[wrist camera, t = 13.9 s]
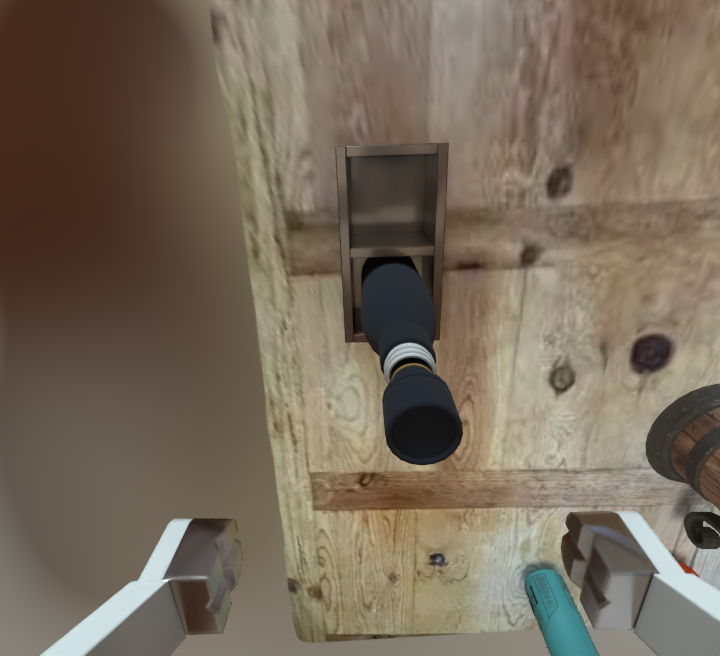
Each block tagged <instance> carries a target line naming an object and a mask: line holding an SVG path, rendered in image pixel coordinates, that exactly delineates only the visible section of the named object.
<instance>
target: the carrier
mask: <svg viewBox="0 0 720 656" xmlns="http://www.w3.org/2000/svg"><path fill="white" fill-rule="evenodd" d="M448 148H449V143H428V144H400V145H371V146H347V147H345V146H343V147H336V168H337V188H338V208H339V228H340V248H341V268H342V288H343V308H344V327H345V342H346V343H348V342H368V340H367V339H366V337H365V335H364V333H363V330H362V324H361V274H362V267H363V265H364V263H365V261H366V259H367V258H368V257H401V256H410V257H411V258H412V260H413V262H414V264H415V266H416V268H417V271H418V273H419V275H420V277H421V279H422V281H423V283H424V285H425V287H426V289H427V291H428V293H429V296H430V298H431V300H432V302H433V304H434V306H435V308H436V316H437V329H436V335H435V339H434V340H440V319H441V298H442V277H443V255H444V234H445V212H446V191H447V169H448Z"/></svg>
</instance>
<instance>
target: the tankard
mask: <svg viewBox="0 0 720 656" xmlns="http://www.w3.org/2000/svg"><path fill="white" fill-rule="evenodd" d="M646 455H647V458H648V461H649V463H650V464H651V466H652V467H653V469H654V470H655V471H656V472H658V473H659V474H660V475H662V476H664V477H666V478H668V479H670V480H674V481H678V482H684V483H687V484H689V485H690V486H691V487H692V488H693V489H694V490H695V491H696V492H697V493H698V494H699V495H701V496H702V497H703V498H704V499H705V500H707V501H709V502H711V503H713V504H714V505H715V506H716V507H717V508H718V509H719V510H720V384H716V385H712V386H707V387H703V388H701V389H698V390H695V391H693V392H690V393H689V394H687V395H685V396H683V397H681V398H680V399H678V400H677V401H675V402H674V403H673V404H671V405H670V406H669V407H668V408H667V409H666V410H665V411H664V412H663V413H662V414H661V415H660V416H659V417H658V418H657V420H656V421H655V423H654V424H653V425H652V428H651V430H650V432H649V434H648V437H647V442H646ZM703 521H705V522H707V523H708V524H709V525H711V526H712V527H713V528H715V529H716V530H717V531H718V532H719V533H720V516H719V515H716V514H714V513H712V512H690V513H688V514H687V515H686V517H685V519H684V526H685V530H686V533H687V535H688V537H689V539H690V540H691V542H692V543H693V544H694V545H695V546H696V547H698V548H701V549H717V548H719V547H720V536H719V535H718V533H717V532H716V531H715V530H713V529H712V528H710V527H703Z"/></svg>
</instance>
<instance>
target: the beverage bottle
mask: <svg viewBox="0 0 720 656" xmlns="http://www.w3.org/2000/svg"><path fill="white" fill-rule="evenodd" d="M565 583H566V582H564V580H563V577H561V576H560V575H559V574H558V573H557V572H556V571H554V570H550V569H542V570H537V571H535V572H533V573H531V574H530V575H528V576H527V578H526V579H525V583H524V584H525V587H524V590H526V592H525V593H527V595H528V598H529V600H530V604H531V607H532V610H533V613H535V615H534V616H536V619H537V621H538V624H539V626H540V629H541V632H542V634H543V637H544V639H545V642H546V645H547V647H548V650H549V652H550V654H551V656H599V653H598V652H597V649H596V647H595V645H594V643H593V641H592V639H591V637H590V635H589V632H588V631H587V628H586V626H585V624H584V621H583V620H584V619H582V616H581V615H580V613H579V611H578V609H577V607H576V606H577V605H575V603H574V601H573V600H574V599H573V597H571V596H572V595H570V593H569V591H568V589H567V587H566V586H567V584H565ZM529 600H528V601H529ZM537 621H536V622H537Z"/></svg>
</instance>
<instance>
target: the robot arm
mask: <svg viewBox="0 0 720 656" xmlns="http://www.w3.org/2000/svg"><path fill="white" fill-rule="evenodd" d="M565 524H566V526H567V528H568V530H569V532H568V533H567V534H565V535H564V536H563V537H562V543H561V553H562V560H563V564H564V567H565V570H566V572H567V574H568V576H569V579H570V580H571V581H572V582H573V583H574V584H576V585H577V586H578V587H579V588H580V589H582V590H581V594H580V602H581V604H582V606H583V608H584V610H585V612H586V614H587V616H588V618H589V620H590V622H591V624H592V626H593V628H594V629H600V630H601V629H602V630H634V633H635V634H636V635H637V636H638V637H639V638H640V639H641V640H642V641H643V642H644V643H645V644H646V645H647V646H648V647H649V648H650V649H651V650H652V651H653V652H654V653H655V654H657V655H658V656H720V591H719V590H718V589H716V588H714V587H713V586H711V585H710V584H708V583H707V582H705V581H704V580H702V579H701V578H699V577H698V576H696V575H694V574H693V573H685V572H684V570H683V569H682V568H681V566H680V565H679V564H678V562H677V561H676V560H675V559H674V557H673V556H672V555H671V553H670V552H669V551H668V549H667V548H666V547H665V546H664V544H663V543H662V542H661V540H660V539H659V538H658V536H657V535H656V534H655V533H654V531H653V530H652V529H651V527H650V526H649V525H648V523H647V522H646V521H645V520H644V518H643V517H642V516H641V515H640V514H639V513H638V512H636V511H591V512H570V513H569V514H568V516H567V519H566V523H565ZM237 531H238V527H237V523H236V520H235V519H197V518H196V519H195V518H194V519H173V520H172V521H171V522H170V523H169V524H168V525H167V527H166V529H165V531H164V533H163V534H162V536H161V538H160V540H159V542H158V544H157V546H156V548H155V549H154V551H153V553H152V555H151V557H150V559H149V561H148V563H147V564H146V566H145V568H144V570H143V572H142V574H141V576H140V577H139V580H138V581H132V582H130V583H129V584H127V585H126V586H125V587H124V588H123V589H122V590H120V591H119V592H118V593H116V594H115V595H114V596H113V597H112V598H110V599H109V600H108V601H106V602H105V603H104V604H103V605H102V606H101V607H99V608H98V609H97V610H96V611H94V612H93V613H92V614H90V615H89V616H88V617H87V618H86V619H84V620H83V621H82V622H81V623H79V624H78V625H77V626H76V627H74V628H73V629H72V630H71V631H70V632H68V633H67V634H66V635H65V636H63V637H62V638H61V639H60V640H58V641H57V642H56V643H55V644H54V645H52V646H51V647H50V648H49V649H47V650H46V651H45V652H44V653H43V654H41V655H40V656H171V655H172V653H173V652H174V651H175V650H176V649H177V647H178V646H179V645H180V644H181V643H182V642H183V640H184V639H185V638H186V636H185V635H195V634H218V633H223V631H224V628H225V625H226V622H227V618H228V615H229V611H230V608H231V605H232V602H231V597H230V592H231V591H232V590H233V589H234V588H235V587H236V586H237V585H238V581H239V577H240V574H241V568H242V561H243V557H242V556H243V555H242V545H241V542H240V541H239V540H237V539H236V538H235V537H236V534H237Z"/></svg>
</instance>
